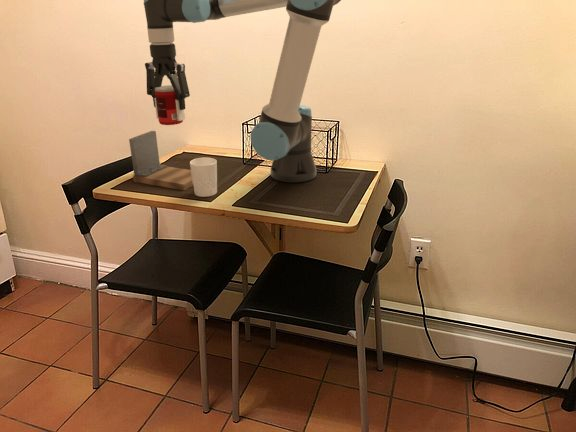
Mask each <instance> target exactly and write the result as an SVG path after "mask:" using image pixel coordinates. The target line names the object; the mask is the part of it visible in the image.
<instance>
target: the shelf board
mask: <svg viewBox="0 0 576 432" xmlns="http://www.w3.org/2000/svg"><path fill="white" fill-rule="evenodd" d="M132 179H133V182H134V183H138V184H139V183H140V184H146V185H151V186H157V187H163V188H169V189H174V190H179V191H180V190H181V191H187V190H188V189H190V188H192V187H194V186H193V181H192V175H191V169H187V168H179V167H173V166H168V165H167V167H166V168H164V169H162V170H160V171H158V172H156V173H154V174H152V175H149V176H147V177H141V176H135V175H134V174H133V175H132Z"/></svg>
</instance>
